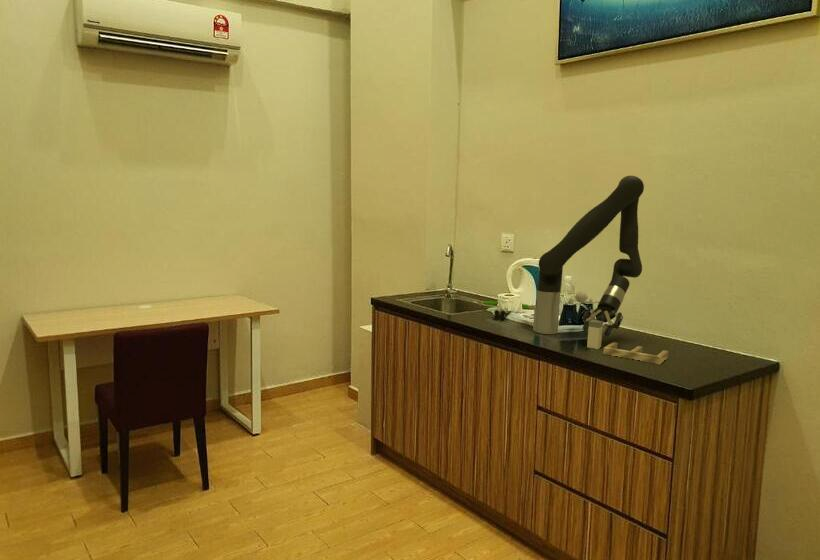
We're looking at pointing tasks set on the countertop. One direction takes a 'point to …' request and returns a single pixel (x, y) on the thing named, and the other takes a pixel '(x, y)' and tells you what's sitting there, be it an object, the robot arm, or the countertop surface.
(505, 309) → the figurine
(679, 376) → the countertop surface
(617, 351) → the comb rack
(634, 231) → the robot arm
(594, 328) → the cream lidded container
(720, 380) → the countertop surface
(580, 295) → the toy
